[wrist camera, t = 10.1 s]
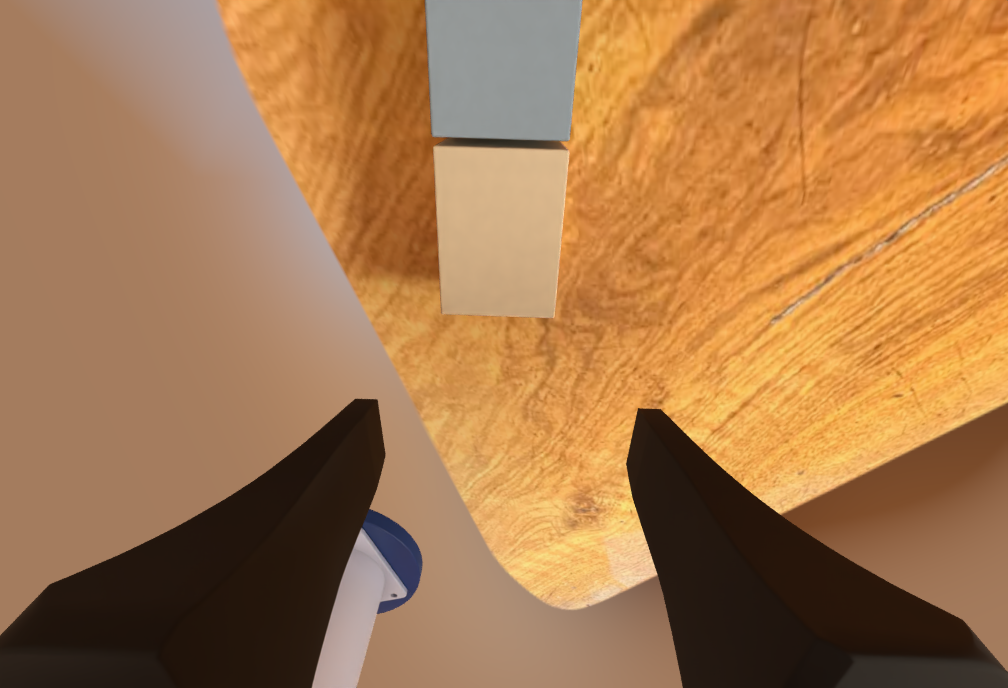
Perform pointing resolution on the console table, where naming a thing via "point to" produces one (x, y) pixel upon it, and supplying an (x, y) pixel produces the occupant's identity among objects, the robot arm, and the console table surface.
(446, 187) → the beige rectangular block
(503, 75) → the long grey beam
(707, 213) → the console table surface
